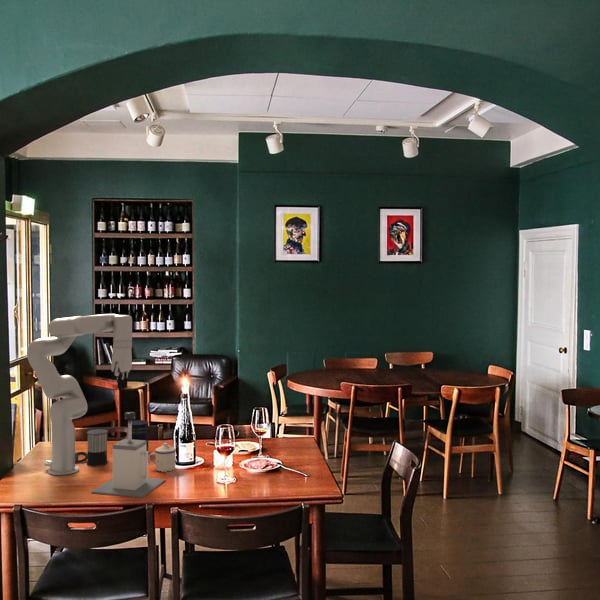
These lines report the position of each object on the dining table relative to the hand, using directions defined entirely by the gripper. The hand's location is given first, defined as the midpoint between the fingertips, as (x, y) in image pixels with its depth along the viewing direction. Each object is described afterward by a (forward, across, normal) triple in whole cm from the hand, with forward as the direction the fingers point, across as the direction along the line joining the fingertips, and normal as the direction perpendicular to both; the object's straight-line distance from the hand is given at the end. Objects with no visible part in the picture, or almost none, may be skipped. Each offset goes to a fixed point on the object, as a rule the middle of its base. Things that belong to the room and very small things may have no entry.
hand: (122, 388), depth 275 cm
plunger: (+27, +7, +7) cm, 29 cm away
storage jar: (+39, -41, -12) cm, 58 cm away
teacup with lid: (+39, -19, +10) cm, 45 cm away
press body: (+39, +7, +8) cm, 40 cm away
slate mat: (+39, +7, +7) cm, 40 cm away
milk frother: (+39, -20, -26) cm, 51 cm away
